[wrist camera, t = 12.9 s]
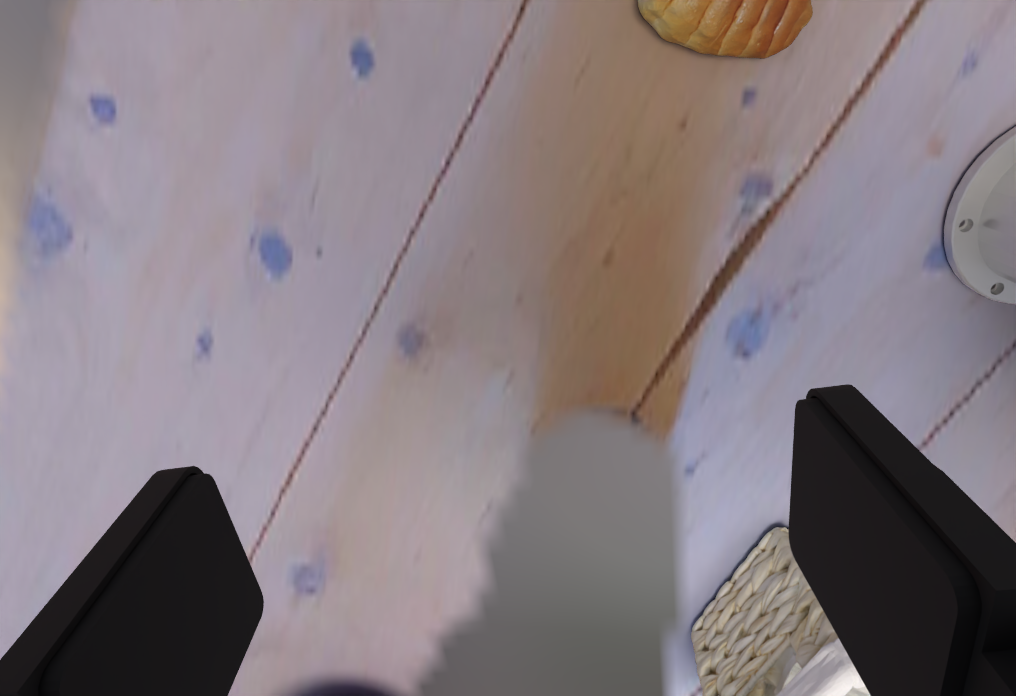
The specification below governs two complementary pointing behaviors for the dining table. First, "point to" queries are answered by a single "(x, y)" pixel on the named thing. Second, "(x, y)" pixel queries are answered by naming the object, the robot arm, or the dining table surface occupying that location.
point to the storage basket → (771, 633)
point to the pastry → (728, 24)
